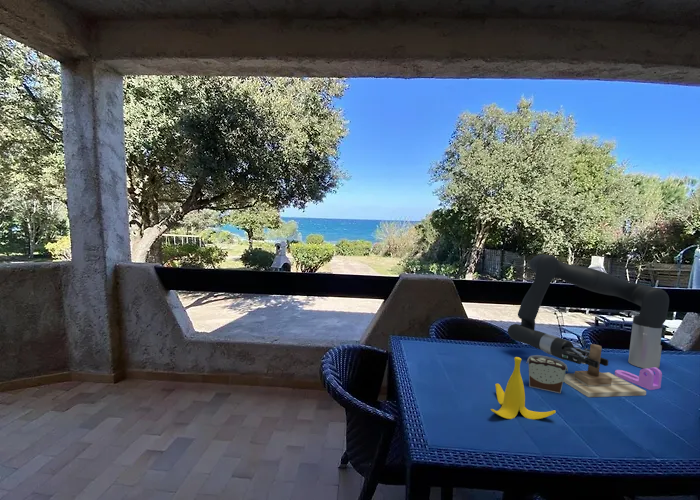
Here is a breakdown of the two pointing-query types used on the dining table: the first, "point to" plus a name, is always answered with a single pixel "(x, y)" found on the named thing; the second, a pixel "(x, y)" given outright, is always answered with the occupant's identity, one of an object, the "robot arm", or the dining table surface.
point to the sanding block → (593, 371)
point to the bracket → (643, 377)
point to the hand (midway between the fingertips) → (602, 364)
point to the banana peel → (515, 398)
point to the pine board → (605, 387)
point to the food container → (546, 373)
